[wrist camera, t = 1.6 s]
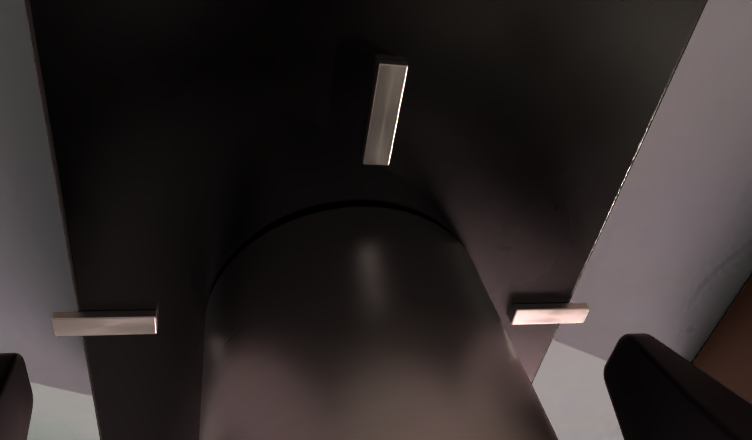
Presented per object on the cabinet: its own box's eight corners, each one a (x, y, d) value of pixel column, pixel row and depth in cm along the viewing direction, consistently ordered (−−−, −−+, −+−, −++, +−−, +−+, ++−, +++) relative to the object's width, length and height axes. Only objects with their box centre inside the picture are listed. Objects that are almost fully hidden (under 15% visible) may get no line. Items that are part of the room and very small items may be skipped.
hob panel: (457, 391, 17) (496, 501, 14) (120, 409, 15) (97, 540, 12) (628, -91, 10) (762, -43, 7) (41, -185, 8) (-50, -162, 5)
